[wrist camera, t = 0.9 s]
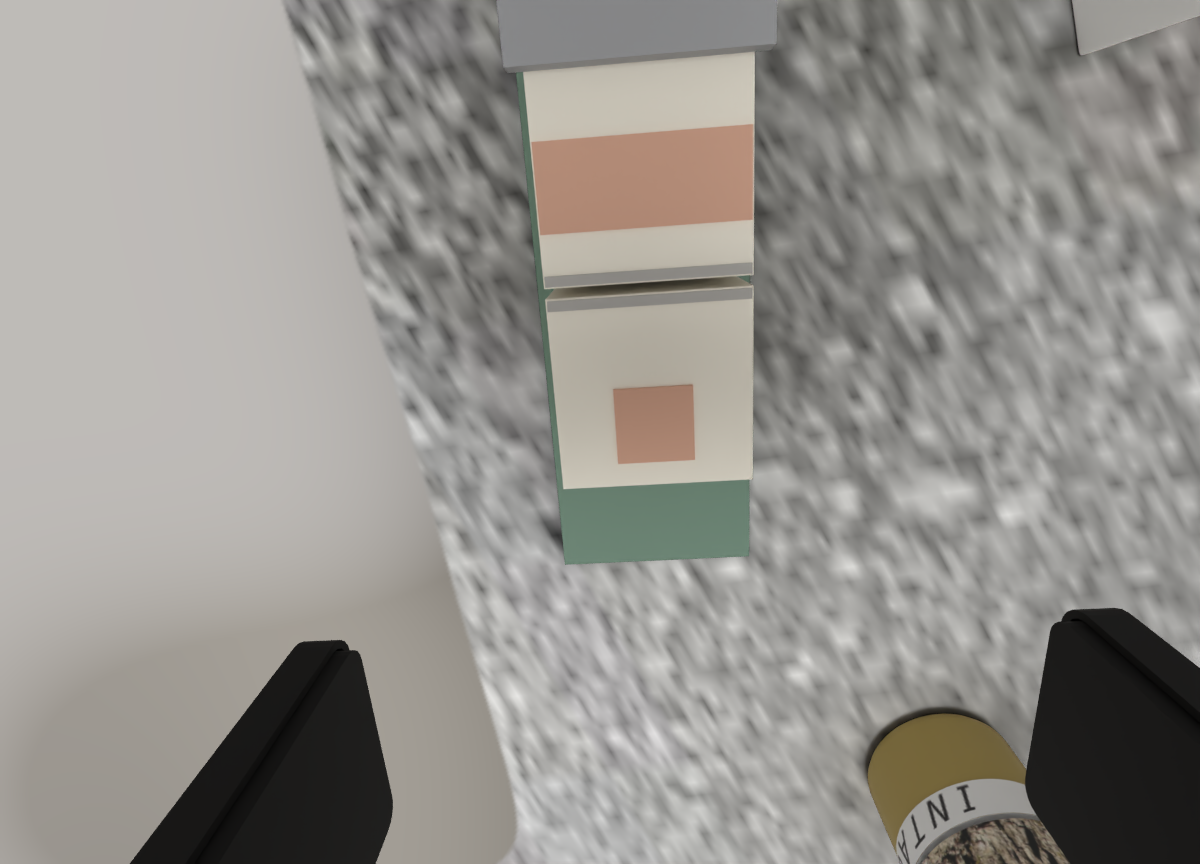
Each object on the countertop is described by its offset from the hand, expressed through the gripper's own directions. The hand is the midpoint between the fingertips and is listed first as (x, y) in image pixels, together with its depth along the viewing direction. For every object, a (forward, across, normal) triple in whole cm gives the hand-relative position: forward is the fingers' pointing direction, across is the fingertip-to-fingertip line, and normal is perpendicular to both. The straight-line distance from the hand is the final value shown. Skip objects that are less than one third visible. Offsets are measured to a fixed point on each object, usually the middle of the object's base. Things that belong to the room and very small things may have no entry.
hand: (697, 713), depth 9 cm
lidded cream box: (+18, 0, -8) cm, 20 cm away
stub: (+18, 0, -1) cm, 18 cm away
